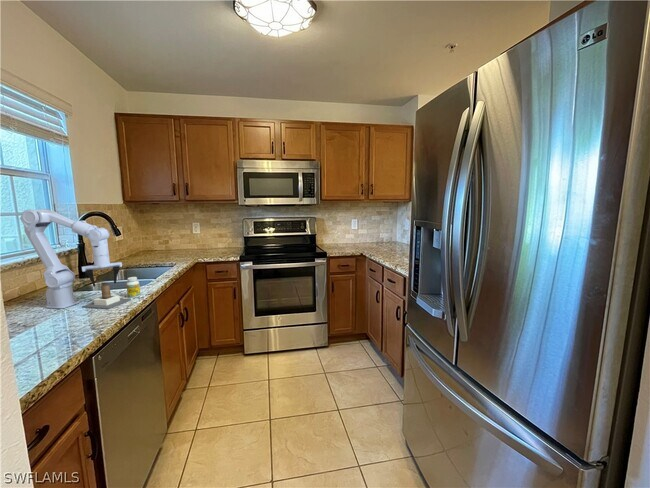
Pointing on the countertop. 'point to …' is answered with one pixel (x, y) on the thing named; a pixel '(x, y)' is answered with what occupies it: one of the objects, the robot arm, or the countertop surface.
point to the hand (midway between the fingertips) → (104, 284)
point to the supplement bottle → (133, 287)
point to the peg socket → (106, 302)
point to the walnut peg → (105, 291)
